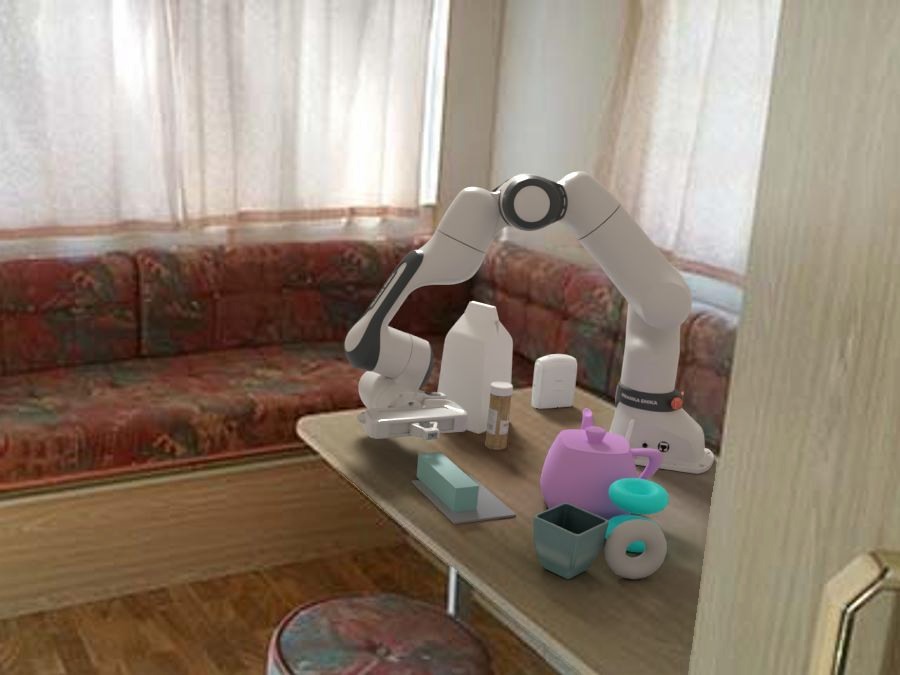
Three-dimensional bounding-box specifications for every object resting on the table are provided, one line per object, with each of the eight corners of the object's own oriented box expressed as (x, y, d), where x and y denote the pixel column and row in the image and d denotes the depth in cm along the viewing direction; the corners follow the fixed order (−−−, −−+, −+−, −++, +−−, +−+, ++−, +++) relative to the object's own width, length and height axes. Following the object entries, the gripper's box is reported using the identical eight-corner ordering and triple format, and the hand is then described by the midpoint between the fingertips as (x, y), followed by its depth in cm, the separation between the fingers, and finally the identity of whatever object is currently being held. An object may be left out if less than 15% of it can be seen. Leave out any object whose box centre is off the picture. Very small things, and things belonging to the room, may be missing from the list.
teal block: (418, 454, 197) (455, 488, 183) (440, 451, 199) (479, 485, 185) (416, 476, 198) (453, 512, 184) (438, 474, 200) (476, 509, 186)
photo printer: (536, 410, 242) (542, 358, 238) (527, 404, 245) (533, 352, 242) (575, 407, 246) (581, 356, 243) (566, 401, 250) (572, 351, 246)
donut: (603, 583, 165) (611, 524, 162) (597, 572, 168) (605, 514, 166) (665, 583, 167) (674, 525, 164) (658, 573, 170) (667, 515, 167)
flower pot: (603, 571, 169) (610, 520, 166) (571, 589, 162) (578, 535, 160) (559, 551, 174) (565, 501, 172) (526, 568, 168) (532, 515, 165)
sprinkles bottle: (508, 451, 216) (515, 388, 212) (486, 450, 215) (492, 387, 212) (504, 442, 220) (510, 380, 217) (482, 442, 219) (488, 380, 216)
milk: (433, 418, 231) (443, 302, 224) (465, 407, 240) (475, 294, 233) (478, 433, 224) (490, 314, 217) (509, 421, 233) (521, 306, 226)
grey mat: (411, 482, 196) (412, 480, 196) (470, 476, 201) (470, 474, 201) (454, 524, 181) (454, 522, 181) (515, 516, 186) (516, 514, 186)
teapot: (661, 533, 184) (674, 452, 180) (540, 522, 184) (549, 441, 180) (643, 482, 206) (654, 408, 202) (534, 471, 206) (543, 398, 202)
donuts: (655, 505, 171) (599, 487, 176) (647, 561, 174) (592, 542, 179) (679, 487, 179) (624, 470, 184) (670, 541, 182) (617, 523, 187)
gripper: (354, 398, 203) (381, 423, 191) (450, 392, 212) (482, 415, 200) (352, 429, 204) (379, 456, 192) (448, 422, 213) (479, 447, 201)
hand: (432, 435), depth 196 cm, fingers closed
